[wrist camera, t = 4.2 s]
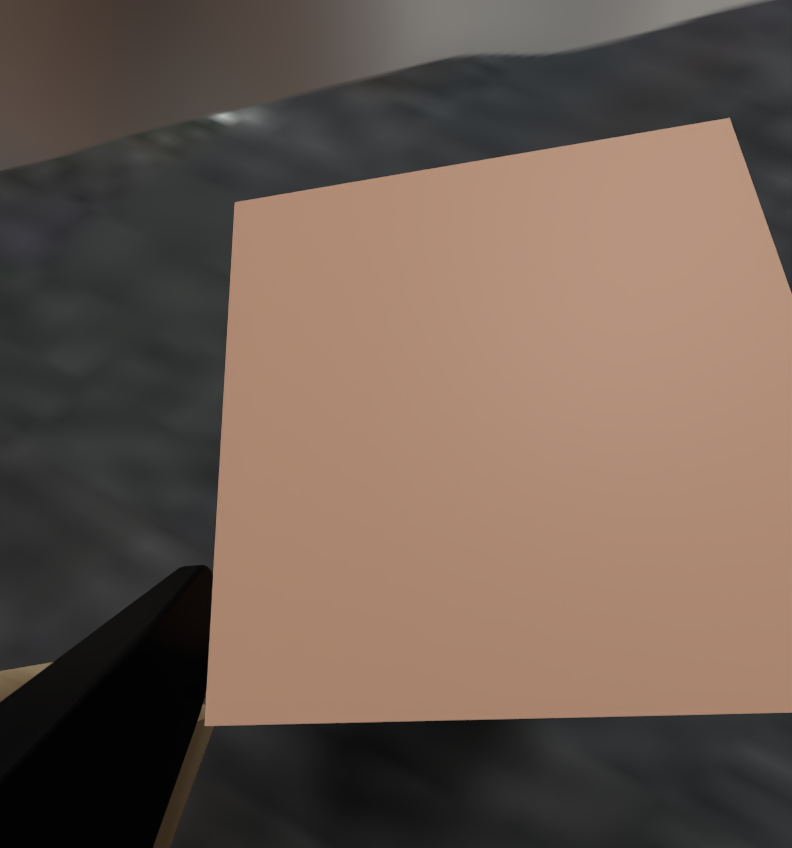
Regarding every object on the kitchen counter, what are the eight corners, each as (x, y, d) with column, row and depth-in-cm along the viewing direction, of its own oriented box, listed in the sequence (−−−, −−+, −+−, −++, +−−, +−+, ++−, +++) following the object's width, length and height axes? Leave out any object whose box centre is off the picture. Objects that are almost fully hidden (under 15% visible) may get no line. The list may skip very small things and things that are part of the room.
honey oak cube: (220, 710, 16) (112, 761, 11) (154, 893, 15) (0, 1037, 10) (94, 655, 17) (-52, 680, 12) (22, 819, 16) (-170, 916, 11)
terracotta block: (568, 611, 15) (937, 709, 3) (419, 618, 16) (204, 725, 3) (546, 465, 17) (730, 117, 4) (410, 477, 17) (234, 201, 5)
